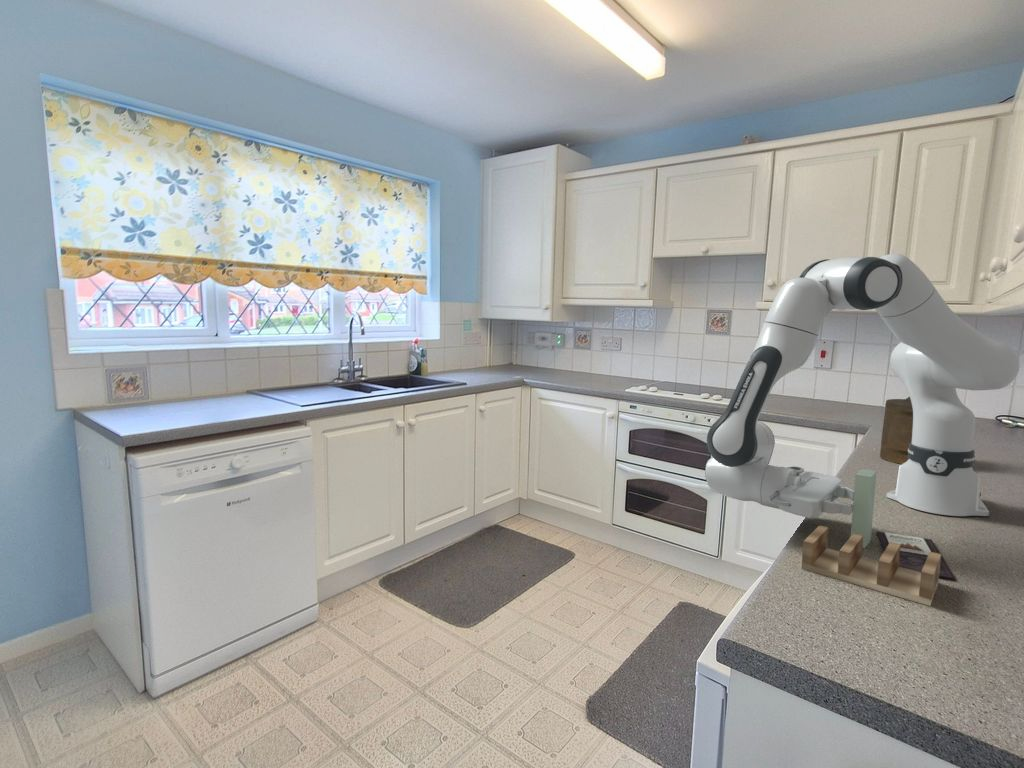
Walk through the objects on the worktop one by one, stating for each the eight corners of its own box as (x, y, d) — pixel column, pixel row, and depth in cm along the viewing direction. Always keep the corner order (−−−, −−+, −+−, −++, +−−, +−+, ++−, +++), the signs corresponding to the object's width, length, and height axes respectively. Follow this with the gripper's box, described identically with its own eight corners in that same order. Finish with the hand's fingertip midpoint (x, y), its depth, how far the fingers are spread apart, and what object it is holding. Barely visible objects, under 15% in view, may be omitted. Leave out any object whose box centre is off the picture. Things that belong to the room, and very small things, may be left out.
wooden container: (951, 468, 158) (958, 393, 155) (895, 465, 160) (901, 392, 158) (921, 455, 173) (927, 387, 170) (870, 453, 175) (876, 386, 172)
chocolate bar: (890, 567, 94) (876, 531, 110) (889, 572, 94) (876, 535, 110) (955, 578, 90) (931, 539, 106) (955, 584, 90) (931, 544, 106)
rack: (817, 550, 102) (819, 525, 101) (938, 582, 89) (941, 554, 89) (801, 568, 95) (803, 541, 94) (930, 606, 82) (933, 574, 82)
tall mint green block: (856, 537, 108) (861, 469, 107) (870, 540, 106) (876, 471, 105) (850, 544, 105) (855, 474, 103) (865, 548, 103) (871, 477, 101)
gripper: (766, 485, 107) (846, 501, 97) (798, 464, 122) (870, 476, 112) (764, 515, 108) (843, 534, 98) (796, 491, 122) (868, 506, 113)
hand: (858, 503), depth 105 cm, fingers open, 8 cm apart
